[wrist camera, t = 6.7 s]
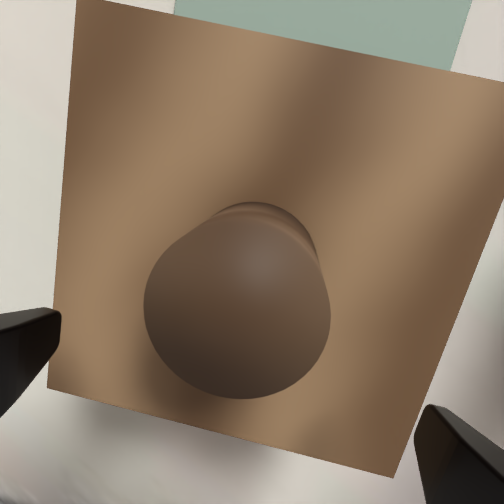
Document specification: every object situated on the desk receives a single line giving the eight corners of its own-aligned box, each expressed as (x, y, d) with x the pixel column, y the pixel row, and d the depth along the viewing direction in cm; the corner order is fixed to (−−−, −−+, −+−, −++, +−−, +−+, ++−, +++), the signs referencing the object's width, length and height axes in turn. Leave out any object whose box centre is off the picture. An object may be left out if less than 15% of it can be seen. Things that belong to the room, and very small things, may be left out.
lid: (526, 96, 10) (717, 43, 6) (387, 460, 14) (436, 613, 9) (91, 6, 11) (-54, -107, 6) (60, 375, 14) (-51, 478, 10)
